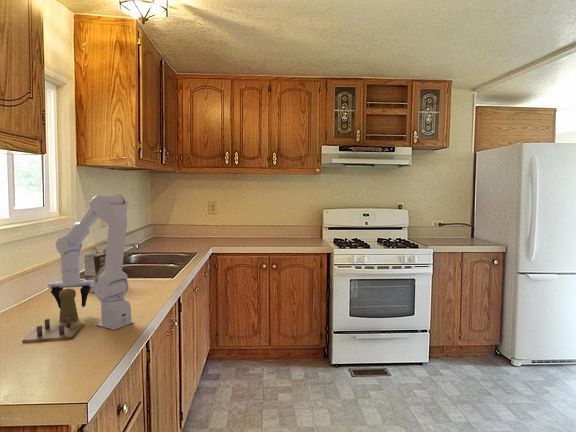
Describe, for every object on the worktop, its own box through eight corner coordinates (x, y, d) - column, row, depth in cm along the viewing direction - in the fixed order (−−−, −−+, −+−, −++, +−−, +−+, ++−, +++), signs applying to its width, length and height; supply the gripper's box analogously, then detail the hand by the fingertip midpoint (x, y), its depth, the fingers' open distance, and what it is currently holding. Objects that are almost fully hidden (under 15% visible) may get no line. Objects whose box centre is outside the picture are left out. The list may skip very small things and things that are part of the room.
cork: (74, 316, 149) (72, 286, 148) (81, 319, 146) (80, 289, 144) (56, 320, 145) (54, 289, 144) (63, 324, 141) (61, 292, 140)
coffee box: (97, 293, 179) (95, 256, 178) (85, 292, 181) (83, 255, 180) (111, 287, 188) (110, 252, 187) (100, 286, 190) (98, 252, 188)
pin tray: (83, 325, 140) (83, 314, 139) (72, 339, 128) (71, 327, 128) (38, 328, 137) (37, 317, 137) (22, 342, 125) (21, 330, 125)
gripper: (95, 266, 153) (96, 302, 154) (52, 268, 150) (54, 304, 152) (89, 270, 146) (91, 308, 147) (45, 272, 144) (47, 310, 145)
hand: (72, 306), depth 149 cm, fingers open, 7 cm apart
